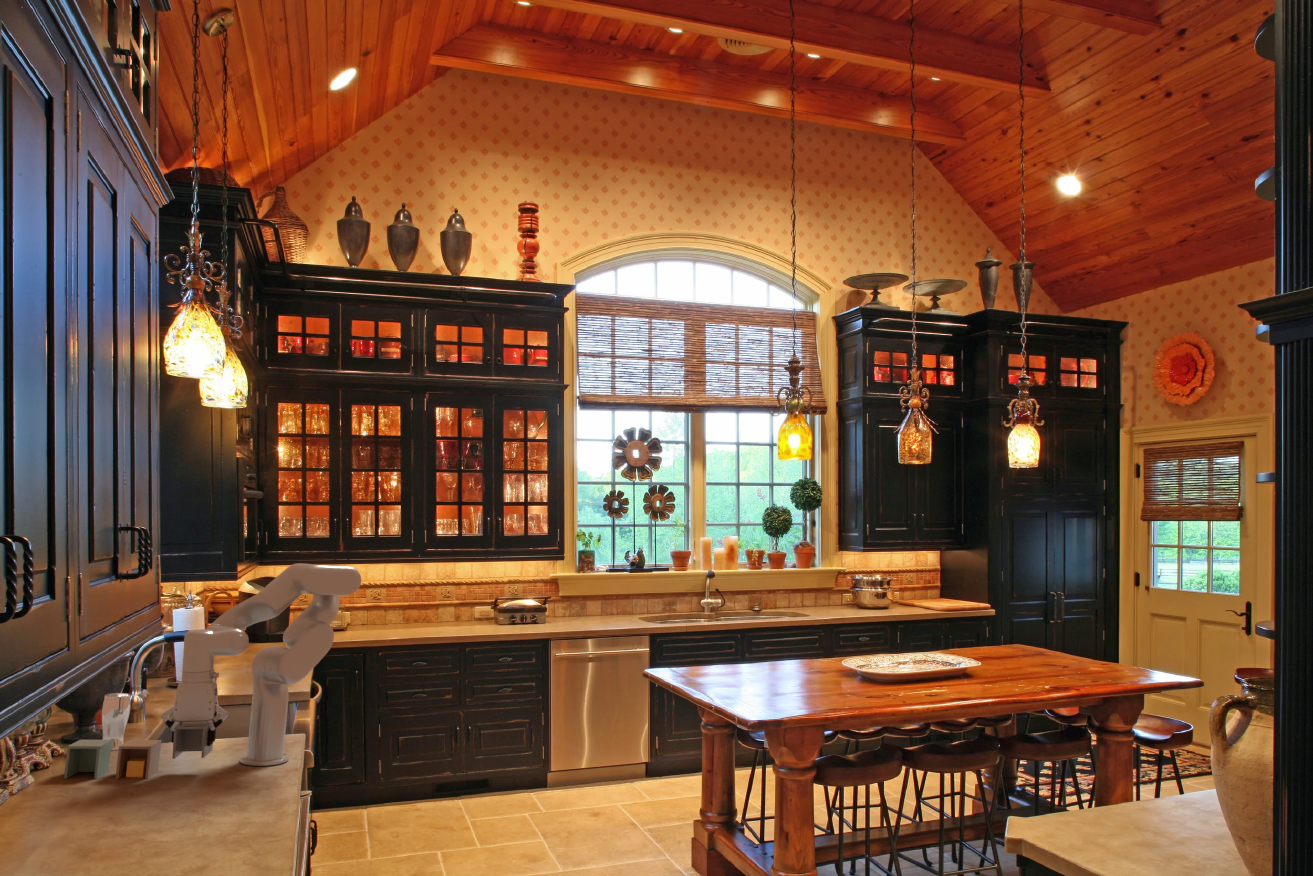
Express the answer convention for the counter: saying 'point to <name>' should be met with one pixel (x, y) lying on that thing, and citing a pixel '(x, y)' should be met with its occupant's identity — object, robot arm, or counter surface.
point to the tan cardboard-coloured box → (139, 755)
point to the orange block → (136, 767)
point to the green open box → (88, 757)
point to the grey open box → (191, 738)
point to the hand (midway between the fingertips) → (193, 744)
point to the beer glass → (115, 717)
